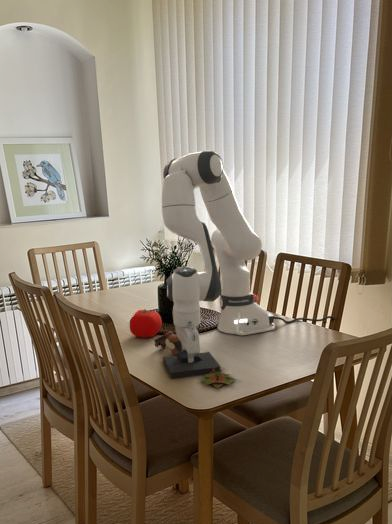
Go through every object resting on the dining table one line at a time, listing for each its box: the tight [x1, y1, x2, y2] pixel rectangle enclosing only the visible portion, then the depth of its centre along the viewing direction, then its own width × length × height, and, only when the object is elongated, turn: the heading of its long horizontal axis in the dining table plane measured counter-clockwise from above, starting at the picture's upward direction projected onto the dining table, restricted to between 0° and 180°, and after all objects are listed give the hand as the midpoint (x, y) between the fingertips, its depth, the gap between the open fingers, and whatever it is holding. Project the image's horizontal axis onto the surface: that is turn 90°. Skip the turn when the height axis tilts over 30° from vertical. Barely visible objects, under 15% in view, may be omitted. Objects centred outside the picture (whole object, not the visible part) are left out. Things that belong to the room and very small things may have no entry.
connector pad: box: [177, 351, 199, 363], centre depth 182 cm, size 6×6×3 cm
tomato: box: [129, 308, 163, 339], centre depth 208 cm, size 11×13×10 cm
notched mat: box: [162, 351, 222, 379], centre depth 179 cm, size 16×14×2 cm
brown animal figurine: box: [153, 330, 183, 356], centre depth 194 cm, size 12×10×8 cm
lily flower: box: [197, 366, 239, 389], centre depth 167 cm, size 12×12×5 cm
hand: (188, 357), depth 182 cm, fingers closed on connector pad, 6 cm apart
